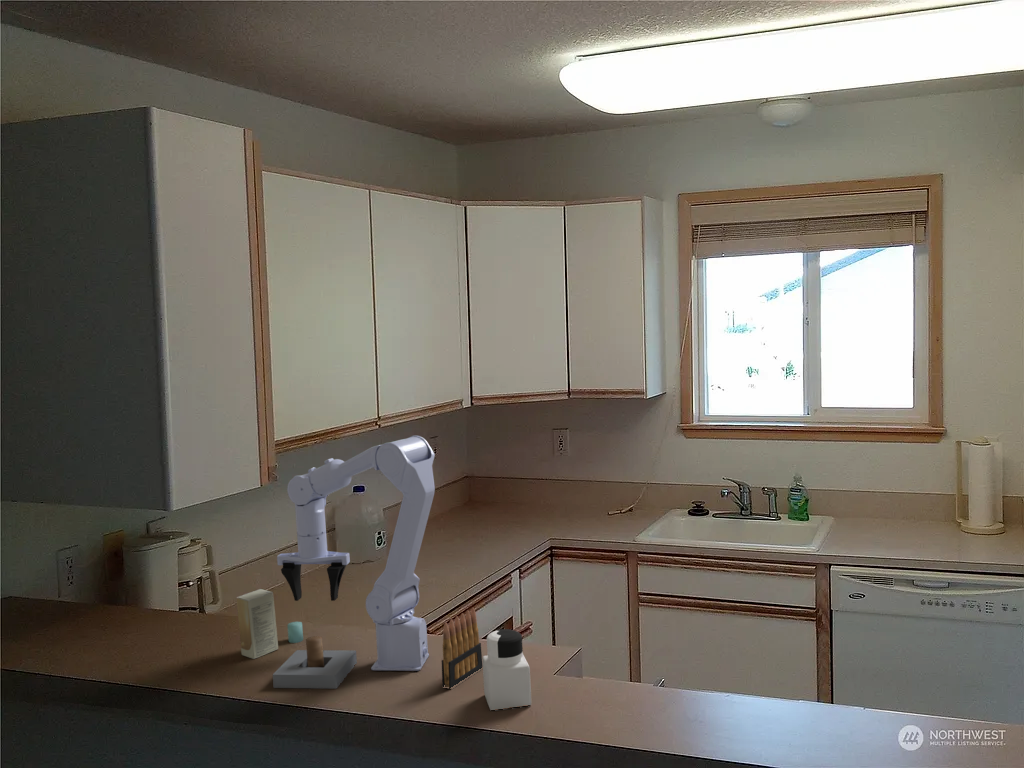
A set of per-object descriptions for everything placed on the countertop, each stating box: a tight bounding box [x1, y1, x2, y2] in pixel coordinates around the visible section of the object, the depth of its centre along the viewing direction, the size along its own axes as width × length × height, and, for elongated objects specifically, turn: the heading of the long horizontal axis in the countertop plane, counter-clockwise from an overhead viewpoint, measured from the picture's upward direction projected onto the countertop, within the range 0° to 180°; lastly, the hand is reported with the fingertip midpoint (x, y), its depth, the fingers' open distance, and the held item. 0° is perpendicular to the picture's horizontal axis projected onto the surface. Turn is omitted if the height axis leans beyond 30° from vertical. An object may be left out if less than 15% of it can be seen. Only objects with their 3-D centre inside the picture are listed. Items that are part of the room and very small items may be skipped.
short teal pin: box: [286, 621, 304, 644], centre depth 199 cm, size 3×3×4 cm
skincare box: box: [235, 588, 279, 660], centre depth 192 cm, size 6×4×12 cm
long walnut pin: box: [305, 635, 324, 668], centre depth 179 cm, size 3×3×7 cm
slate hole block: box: [272, 649, 358, 690], centre depth 179 cm, size 12×12×2 cm
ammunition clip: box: [441, 607, 483, 688], centre depth 174 cm, size 11×2×12 cm, turn 149°
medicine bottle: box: [482, 628, 532, 711], centre depth 163 cm, size 7×7×12 cm
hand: (316, 599), depth 192 cm, fingers open, 7 cm apart
